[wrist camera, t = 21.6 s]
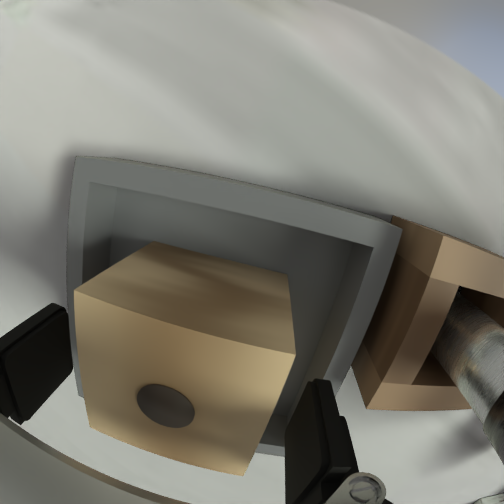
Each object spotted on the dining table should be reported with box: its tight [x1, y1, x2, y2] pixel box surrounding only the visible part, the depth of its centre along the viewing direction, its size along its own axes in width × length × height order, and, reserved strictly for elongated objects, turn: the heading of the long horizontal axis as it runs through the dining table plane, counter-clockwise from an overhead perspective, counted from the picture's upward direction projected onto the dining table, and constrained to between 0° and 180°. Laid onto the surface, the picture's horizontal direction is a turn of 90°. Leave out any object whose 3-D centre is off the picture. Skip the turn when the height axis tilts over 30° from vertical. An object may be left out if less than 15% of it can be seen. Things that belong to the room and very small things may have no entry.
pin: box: [430, 292, 504, 464], centre depth 8 cm, size 3×3×10 cm
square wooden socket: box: [351, 216, 504, 411], centre depth 11 cm, size 7×7×4 cm
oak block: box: [74, 241, 296, 476], centre depth 10 cm, size 6×6×6 cm
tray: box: [67, 156, 403, 457], centre depth 12 cm, size 12×12×3 cm
